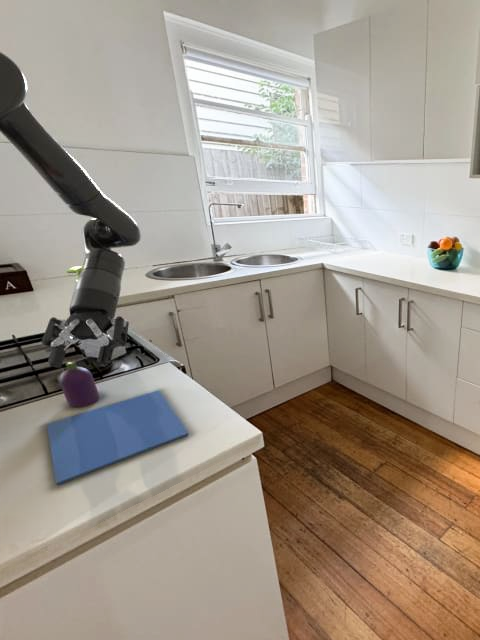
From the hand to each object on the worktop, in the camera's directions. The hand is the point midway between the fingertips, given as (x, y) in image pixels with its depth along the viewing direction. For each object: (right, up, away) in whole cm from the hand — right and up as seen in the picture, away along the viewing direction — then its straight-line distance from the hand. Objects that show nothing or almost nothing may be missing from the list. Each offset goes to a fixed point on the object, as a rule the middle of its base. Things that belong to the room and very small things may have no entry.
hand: (78, 366), depth 77 cm
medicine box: (-11, +1, +20) cm, 23 cm away
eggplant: (0, -7, +1) cm, 7 cm away
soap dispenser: (-20, +6, +30) cm, 37 cm away
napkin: (+13, -11, -7) cm, 19 cm away
